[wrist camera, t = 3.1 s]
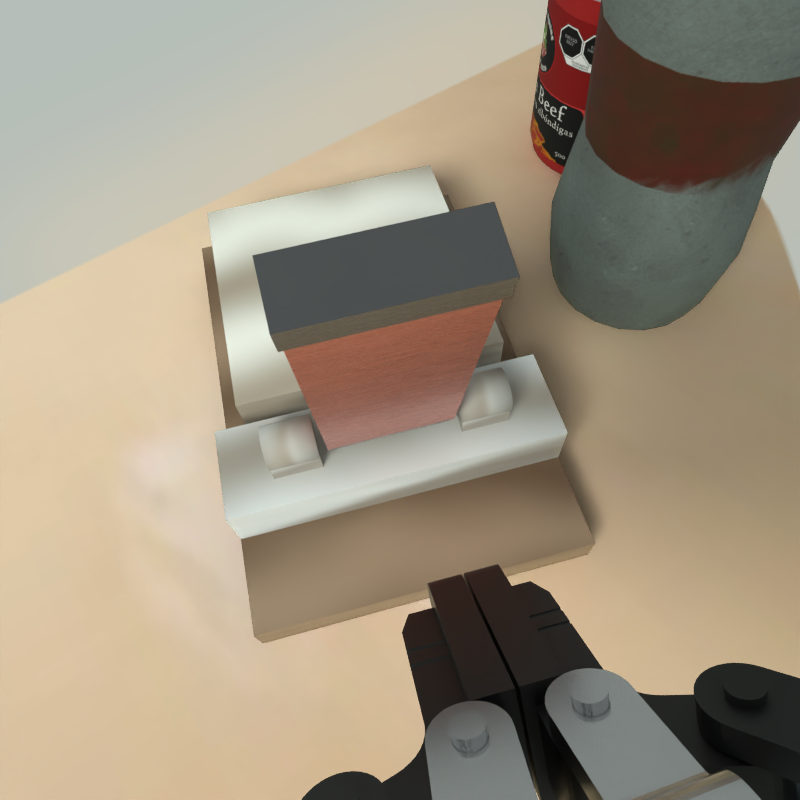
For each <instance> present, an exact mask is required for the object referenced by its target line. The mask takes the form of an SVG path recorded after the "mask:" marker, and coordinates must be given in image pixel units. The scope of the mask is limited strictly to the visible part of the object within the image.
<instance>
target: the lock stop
mask: <svg viewBox="0 0 800 800" xmlns="http://www.w3.org/2000/svg"><path fill="white" fill-rule="evenodd" d="M252 257H253V261H254V266H255V270H256V275H257V279H258V284H259V288H260V293H261V297H262V302H263V306H264V311H265V316H266V320H267V325H268V329H269V334H270V336H271V339H272V341H273V343H274V345H275V347H276V349H277V351H278V352H281V351H284V353H285V355H286V358H287V360H288V362H289V364H290V366H291V369H292V371H293V373H294V375H295V378H296V380H297V382H298V384H299V386H300V389H301V391H302V393H303V395H304V398H305V400H306V402H307V404H308V406H309V409H310V411H311V413H312V415H313V418H314V420H315V422H316V424H317V426H318V429H319V431H320V433H321V435H322V438H323V440H324V442H325V444H326V446H327V449H328V450H330V449H331V450H335V449H339V448H343V447H347V446H351V445H355V444H359V443H363V442H367V441H371V440H375V439H379V438H383V437H387V436H391V435H395V434H399V433H403V432H407V431H411V430H415V429H419V428H423V427H427V426H431V425H435V424H439V423H443V422H447V421H450V419H454V418H455V416H456V413H457V411H458V409H459V406H460V404H461V401H462V399H463V396H464V394H465V391H466V389H467V387H468V384H469V382H470V379H471V377H472V374H473V372H474V369H475V367H476V365H477V362H478V360H479V357H480V355H481V352H482V350H483V347H484V345H485V342H486V340H487V338H488V335H489V333H490V330H491V328H492V325H493V323H494V320H495V318H496V316H497V313H498V311H499V308H500V306H501V303H502V301H503V299H506V298H510V297H511V296H512V294H513V291H514V289H515V287H516V284H517V282H518V280H519V277H520V276H519V273H518V270H517V267H516V264H515V261H514V258H513V255H512V252H511V249H510V247H509V244H508V241H507V238H506V235H505V232H504V229H503V226H502V223H501V220H500V217H499V214H498V211H497V208H496V205H495V202H491V203H486V204H482V205H477V206H473V207H468V208H464V209H459V210H455V211H450V212H446V213H441V214H437V215H432V216H428V217H423V218H419V219H414V220H410V221H405V222H401V223H396V224H392V225H387V226H383V227H378V228H374V229H369V230H365V231H360V232H355V233H351V234H346V235H342V236H337V237H333V238H328V239H324V240H319V241H315V242H310V243H306V244H301V245H297V246H292V247H288V248H283V249H279V250H274V251H270V252H265V253H261V254H256V255H252Z"/></svg>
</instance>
